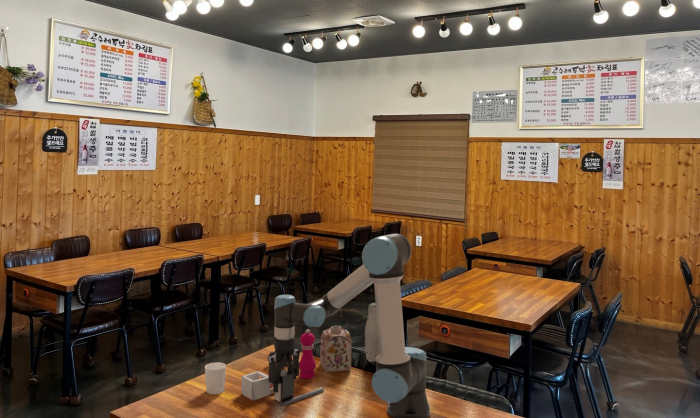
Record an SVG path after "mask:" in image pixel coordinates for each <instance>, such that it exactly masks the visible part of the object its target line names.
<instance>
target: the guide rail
mask: <svg viewBox="0 0 700 418" xmlns="http://www.w3.org/2000/svg"><path fill="white" fill-rule="evenodd" d="M324 390H325V389H324V388H323V387H319V388H317V389H314V390H311V391H308V392H305V393H303V394H300V395H296V396H295V397H294V396H293V398H291V399H288V400H286V401H283V402H279V405H280V407H282V408H283V407H285V406H288V405H290V404H293V403H297V402H299V401H301V400H304V399H307V398H309V397H313V396H315V395H318V394H322V393H324Z"/></svg>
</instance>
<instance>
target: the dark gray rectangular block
mask: <svg viewBox="0 0 700 418" xmlns="http://www.w3.org/2000/svg"><path fill="white" fill-rule="evenodd" d="M266 375H267V376H269V374H266ZM262 378H263V377H261V379H262ZM279 383H280V384H281V401H278V402H279V403H280V402H283V401H286V400H288V399H291V398H294V387H295V385H294V373H292V372H290V371H288V369H282V371H281V376H280V381H279ZM270 388H273V384H272V383H270Z"/></svg>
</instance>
